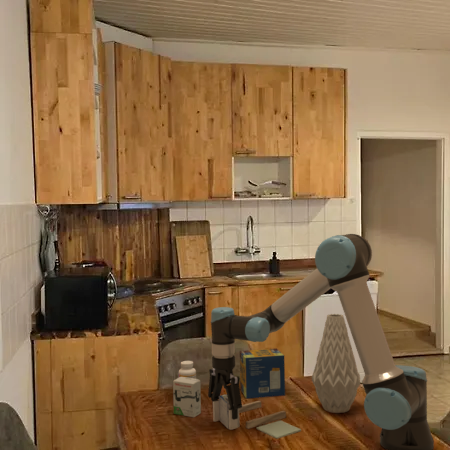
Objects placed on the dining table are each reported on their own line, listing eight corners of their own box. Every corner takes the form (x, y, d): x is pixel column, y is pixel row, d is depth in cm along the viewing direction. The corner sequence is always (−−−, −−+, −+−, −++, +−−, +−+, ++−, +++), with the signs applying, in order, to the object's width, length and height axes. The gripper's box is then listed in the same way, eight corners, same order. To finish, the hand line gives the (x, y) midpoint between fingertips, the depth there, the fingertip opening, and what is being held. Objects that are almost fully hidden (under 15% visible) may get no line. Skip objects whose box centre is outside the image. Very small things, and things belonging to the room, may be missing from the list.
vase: (308, 415, 198) (307, 318, 196) (315, 399, 213) (314, 310, 212) (359, 419, 192) (358, 320, 191) (362, 403, 208) (361, 311, 207)
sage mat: (301, 430, 184) (301, 429, 184) (276, 438, 178) (276, 437, 178) (280, 421, 192) (280, 420, 192) (256, 429, 186) (256, 427, 186)
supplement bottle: (176, 394, 222) (175, 361, 222) (192, 392, 225) (191, 359, 225) (182, 399, 216) (181, 365, 216) (199, 397, 219) (198, 363, 219)
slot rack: (285, 417, 196) (285, 411, 196) (248, 428, 187) (248, 422, 187) (259, 406, 208) (259, 400, 208) (222, 416, 198) (222, 410, 198)
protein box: (239, 390, 226) (239, 350, 226) (278, 387, 229) (277, 348, 228) (245, 399, 216) (244, 357, 215) (285, 395, 218) (285, 354, 218)
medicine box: (240, 427, 188) (239, 400, 188) (226, 429, 187) (226, 402, 186) (231, 419, 195) (231, 393, 195) (219, 421, 194) (218, 395, 194)
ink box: (172, 414, 202) (172, 380, 201) (180, 409, 206) (179, 376, 206) (194, 417, 198) (193, 383, 197) (201, 413, 202) (200, 379, 202)
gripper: (252, 360, 183) (254, 431, 184) (214, 347, 200) (216, 412, 201) (233, 364, 179) (235, 437, 179) (196, 351, 196) (198, 417, 197)
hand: (225, 424), depth 190 cm, fingers closed on medicine box, 8 cm apart
